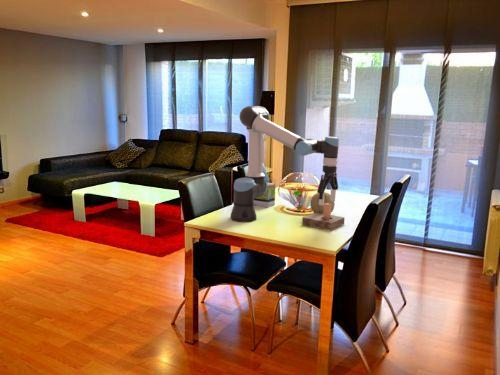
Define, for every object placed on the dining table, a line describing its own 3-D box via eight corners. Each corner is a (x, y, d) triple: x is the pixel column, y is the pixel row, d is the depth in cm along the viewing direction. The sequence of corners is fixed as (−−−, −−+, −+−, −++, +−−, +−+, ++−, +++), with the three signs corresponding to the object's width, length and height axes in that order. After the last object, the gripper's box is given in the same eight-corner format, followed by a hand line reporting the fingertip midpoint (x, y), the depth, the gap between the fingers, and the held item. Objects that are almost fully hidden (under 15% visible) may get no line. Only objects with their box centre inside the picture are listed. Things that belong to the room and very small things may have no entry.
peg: (321, 225, 243) (322, 204, 240) (324, 223, 246) (326, 203, 244) (327, 226, 240) (329, 205, 238) (331, 224, 243) (332, 204, 241)
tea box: (275, 205, 288) (275, 183, 286) (267, 207, 280) (268, 185, 277) (256, 201, 296) (256, 180, 293) (248, 204, 288) (248, 182, 285)
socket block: (302, 224, 243) (302, 217, 243) (316, 218, 256) (316, 212, 255) (331, 230, 233) (331, 223, 232) (344, 224, 245) (344, 217, 244)
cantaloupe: (325, 220, 253) (326, 195, 250) (304, 215, 263) (306, 191, 260) (338, 215, 264) (340, 191, 261) (318, 211, 274) (319, 188, 271)
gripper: (325, 168, 225) (322, 207, 229) (346, 163, 244) (342, 200, 248) (312, 166, 229) (309, 205, 233) (334, 162, 249) (331, 198, 253)
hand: (326, 202), depth 241 cm, fingers open, 13 cm apart
